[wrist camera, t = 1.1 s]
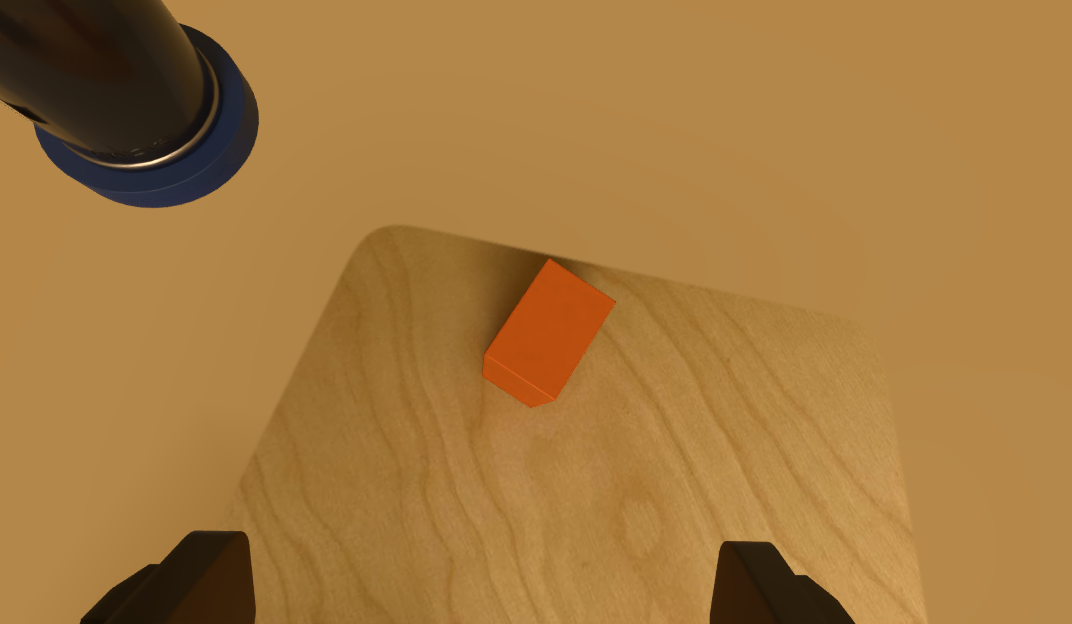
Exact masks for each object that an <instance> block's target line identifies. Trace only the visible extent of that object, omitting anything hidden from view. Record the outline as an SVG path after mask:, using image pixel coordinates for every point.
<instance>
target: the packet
mask: <svg viewBox="0 0 1072 624" xmlns="http://www.w3.org/2000/svg"><path fill="white" fill-rule="evenodd" d="M615 303H616V301H614V300H613V299H611V298H610V297H608V296H607V295H605V294H604V293H602V292H601V291H599V290H597V289H596V288H594V287H593V286H591V285H590V284H588V283H587V282H585V281H584V280H582V279H580V278H579V277H577V276H576V275H574V274H573V273H571V272H570V271H568V270H567V269H565V268H563V267H562V266H560V265H559V264H557V263H556V262H554V261H553V260H551V259H547V261H546V262H545V264H544V265H543V267H542V268H541V270H540V271H539V273H538V274H537V276H536V277H535V279H534V280H533V282H532V283H531V285H530V286H529V288H528V289H527V291H526V292H525V294H524V295H523V297H522V298H521V300H520V301H519V303H518V304H517V306H516V307H515V308H514V310H513V311H512V313H511V314H510V316H509V317H508V319H507V320H506V322H505V323H504V325H503V326H502V328H501V329H500V331H499V332H498V334H497V335H496V337H495V338H494V340H493V341H492V343H491V344H490V346H489V347H488V349H487V350H486V352H485V353H484V362H483V372H482V376H483V377H484V378H486V379H487V380H489V381H490V382H492V383H493V384H495V385H496V386H498V387H500V388H501V389H503V390H504V391H506V392H507V393H509V394H510V395H512V396H513V397H515V398H516V399H518V400H519V401H521V402H522V403H524V404H525V405H527V406H528V407H530V408H533V407H536V406H539V405H542V404H545V403H548V402H551V401H555V400H556V399H557V397H558V395H559V394H560V392H561V390H562V389H563V387H564V386H565V384H566V382H567V381H568V379H569V377H570V376H571V374H572V373H573V371H574V369H575V368H576V366H577V365H578V363H579V361H580V360H581V358H582V356H583V355H584V353H585V352H586V350H587V348H588V347H589V345H590V343H591V342H592V340H593V339H594V337H595V335H596V334H597V332H598V331H599V329H600V327H601V326H602V324H603V322H604V321H605V319H606V318H607V316H608V314H609V313H610V311H611V309H612V308H613V306H614V305H615Z"/></svg>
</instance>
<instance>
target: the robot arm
mask: <svg viewBox="0 0 1072 624" xmlns="http://www.w3.org/2000/svg"><path fill="white" fill-rule="evenodd" d="M0 100H2V101H3V102H5V103H6V104H7V105H9V106H10V107H12V108H13V109H15V110H16V111H18V112H19V113H21V114H22V115H24V116H25V117H26V118H28V119H29V120H31V121H32V122H34V123H35V124H37V125H38V126H40V127H41V128H42V129H44V130H45V131H47V132H48V133H50V134H51V135H53V136H54V137H56V138H57V139H59V140H60V141H61V142H62V143H63V144H64V145H65V146H66V147H68V148H69V149H70V150H72V151H73V152H74V153H76V154H77V155H79V156H80V157H82V158H83V159H85V160H86V161H88V162H90V163H92V164H94V165H96V166H99V167H102V168H104V169H108V170H112V171H118V172H128V173H138V172H148V171H153V170H157V169H161V168H165V167H167V166H170V165H173V164H175V163H177V162H179V161H181V160H183V159H184V158H186V157H188V156H189V155H190V154H192V153H193V152H194V151H196V150H197V149H198V148H199V147H200V146H201V145H202V144H203V143H204V142H205V141H206V140H207V139H208V137H209V136H210V135H211V133H212V132H213V130H214V128H215V126H216V124H217V122H218V119H219V117H220V113H221V108H222V89H221V84H220V81H219V78H218V76H217V74H216V72H215V70H214V69H213V67H212V66H211V64H210V63H209V62H208V60H207V59H206V58H205V56H204V55H203V54H202V52H201V51H200V50H199V49H198V48H197V47H195V45H194V44H193V43H192V41H191V40H190V39H189V37H188V36H187V35H186V33H185V32H184V31H183V29H182V28H181V27H180V25H179V24H178V22H177V21H176V20H175V18H174V17H173V16H172V14H171V13H170V11H169V10H168V9H167V8H166V6H165V5H164V3H163V2H162V1H161V0H0ZM5 106H6V105H5ZM11 110H12V109H11ZM20 116H21V115H20ZM23 118H24V117H23ZM35 126H36V125H35ZM38 128H39V127H38ZM255 615H256V605H255V595H254V586H253V576H252V566H251V557H250V547H249V540H248V537H247V535H246V534H245V533H244V532H242V531H193V532H191V533H189V534H188V535H187V536H186V537H184V539H183V540H182V541H181V542H180V543H179V544H178V545H177V546H176V547H175V548H174V549H173V550H172V551H171V552H170V554H169V555H168V556H167V557H166V558H165V559H164V560H163V561H162V562H161V563H160V564H149V565H147V566H146V567H144V568H143V569H141V570H140V571H138V572H137V573H135V574H134V575H132V576H131V577H129V578H127V579H126V580H124V581H123V582H121V583H120V584H118V585H116V586H115V587H113V588H112V589H111V590H110V591H109V592H108V593H107V594H106V595H105V596H104V597H103V598H102V599H101V600H100V601H99V602H98V603H97V604H96V605H95V606H94V607H93V608H92V609H91V610H90V611H89V612H88V613H87V614H86V615H85V616H84V617H83V618H82V619H81V622H80V624H254V622H255ZM710 624H855V622H854V621H853V620H852V618H851V617H850V616H849V615H848V613H847V612H846V611H845V609H844V608H843V607H842V605H841V604H840V603H839V601H838V600H837V599H836V598H834V597H833V596H832V595H831V594H829V593H828V592H827V591H826V590H824V589H823V588H822V587H821V586H819V585H818V584H817V583H816V582H814V581H813V580H812V579H811V578H809V577H808V576H807V575H795V574H794V573H793V571H792V570H791V568H790V567H789V566H788V564H787V563H786V561H785V560H784V558H783V557H782V556H781V554H780V553H779V551H778V550H777V549H776V547H775V546H774V545H773V544H772V543H770V542H750V541H725V542H723V543H722V545H721V548H720V551H719V557H718V564H717V570H716V577H715V584H714V590H713V597H712V603H711V610H710Z"/></svg>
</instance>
